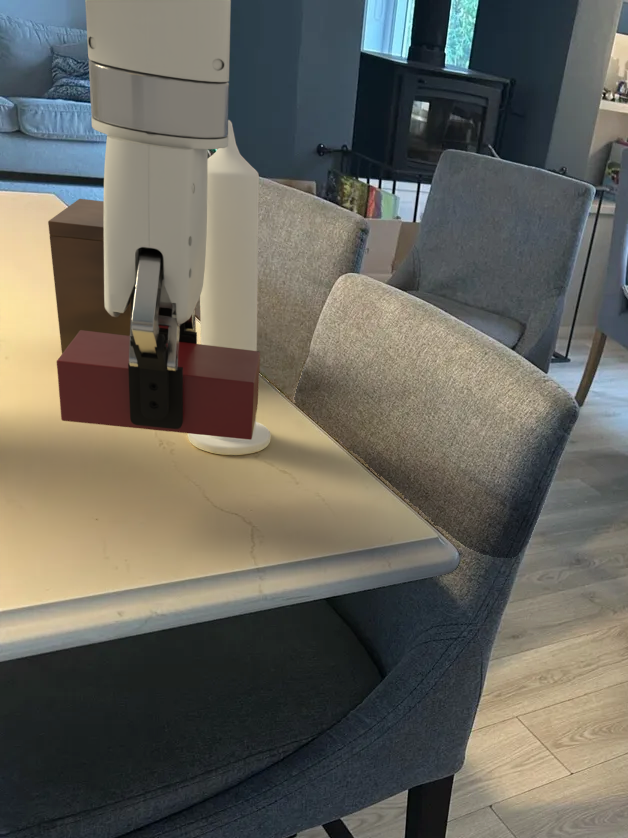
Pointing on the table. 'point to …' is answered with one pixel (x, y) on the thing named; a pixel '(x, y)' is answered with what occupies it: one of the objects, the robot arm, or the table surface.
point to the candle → (231, 274)
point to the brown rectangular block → (82, 272)
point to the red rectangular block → (202, 385)
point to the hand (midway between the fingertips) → (165, 402)
